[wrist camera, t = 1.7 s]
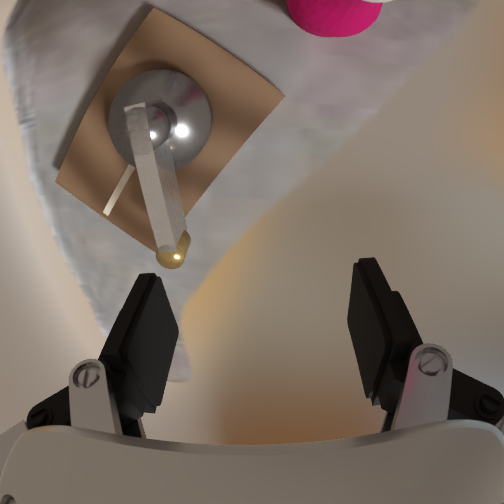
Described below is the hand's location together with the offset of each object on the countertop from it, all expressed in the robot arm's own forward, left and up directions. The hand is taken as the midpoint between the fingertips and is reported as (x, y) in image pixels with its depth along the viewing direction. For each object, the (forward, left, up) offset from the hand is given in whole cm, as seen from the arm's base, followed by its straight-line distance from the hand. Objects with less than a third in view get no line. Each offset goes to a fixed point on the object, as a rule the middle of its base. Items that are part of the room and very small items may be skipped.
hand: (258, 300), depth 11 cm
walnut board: (+4, -9, -20) cm, 22 cm away
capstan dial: (+5, -7, -18) cm, 19 cm away
